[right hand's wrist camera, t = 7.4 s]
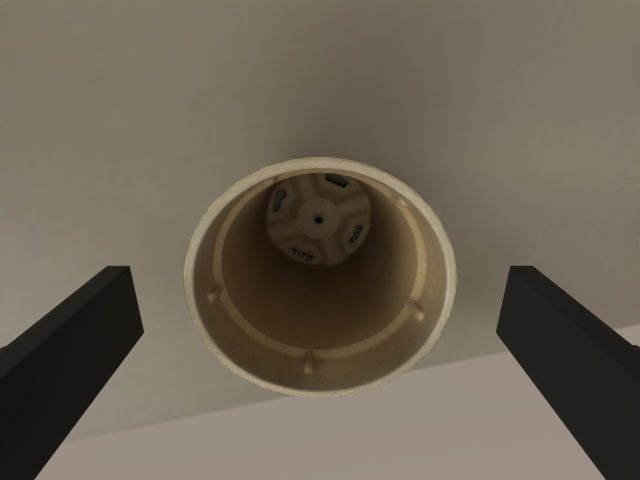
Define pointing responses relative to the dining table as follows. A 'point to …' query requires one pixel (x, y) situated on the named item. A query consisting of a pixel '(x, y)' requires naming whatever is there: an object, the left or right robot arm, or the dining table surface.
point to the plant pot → (320, 278)
